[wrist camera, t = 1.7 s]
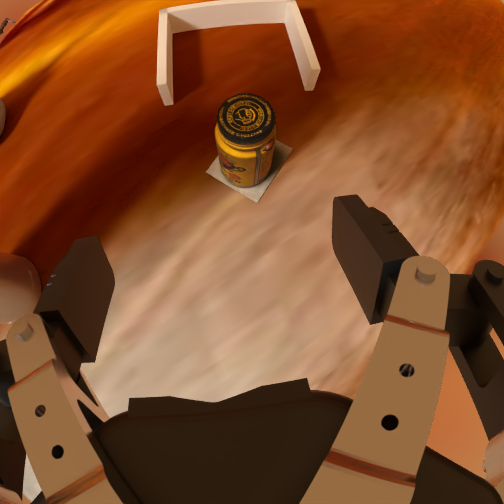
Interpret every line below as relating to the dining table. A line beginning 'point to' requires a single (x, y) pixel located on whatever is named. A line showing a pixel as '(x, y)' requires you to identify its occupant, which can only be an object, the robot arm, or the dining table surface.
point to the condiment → (247, 145)
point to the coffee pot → (0, 107)
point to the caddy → (226, 14)
